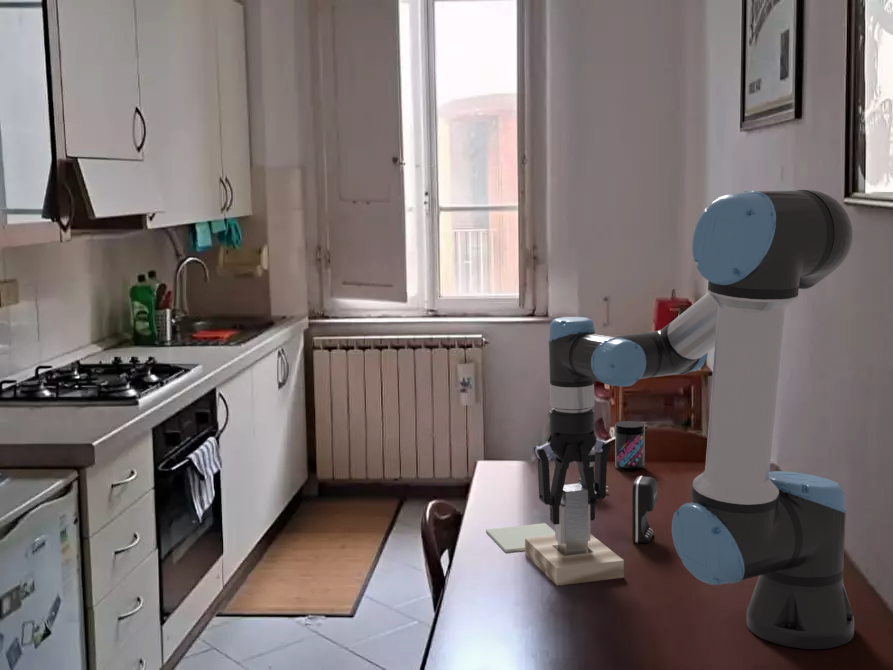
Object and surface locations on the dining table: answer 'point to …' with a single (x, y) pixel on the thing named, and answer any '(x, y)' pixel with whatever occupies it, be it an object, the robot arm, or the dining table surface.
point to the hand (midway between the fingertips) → (572, 539)
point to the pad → (518, 535)
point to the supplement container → (629, 445)
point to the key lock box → (642, 507)
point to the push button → (591, 465)
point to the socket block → (574, 561)
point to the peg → (575, 520)
